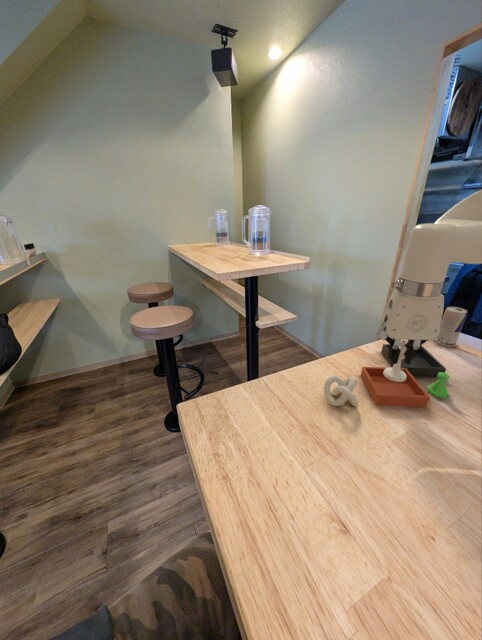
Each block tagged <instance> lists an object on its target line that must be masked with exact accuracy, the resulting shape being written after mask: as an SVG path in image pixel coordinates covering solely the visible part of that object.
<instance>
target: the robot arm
mask: <svg viewBox="0 0 482 640" xmlns="http://www.w3.org/2000/svg"><path fill="white" fill-rule="evenodd" d="M452 263H458V264H459V263H460V264H469V265H471V264H472V265H481V264H482V189H480V190H478V191H476V192H474V193H472V194H470V195H469V196H467V197H465V198H464V199H462V200H461V201H459V202H458V203H456V204H455V205H453V206H452V207H451V208H450V209H448V210H447V211H446V212H445V213H444V214H442V215H441V216H440V217H439V218H438V219H437V220H436V221H434V222H428V223H420V224H417V225H415V226H414V227H413V228H412V230H411V231H410V233H409V238H408V242H407V246H406V251H405V255H404V259H403V264H402V267H401V270H400V271H401V272H400V275H399V277H398V280H396V281H392V282H391V288H392V289H395V290H393V291H392V294H391V295H390V298H389V299H388V303H387V304H386V308H385V310H384V313H383V317H382V320H381V324H380V325H381V326H380V328H379V329H378V330H377V332H376V333H375V336H376V337H377V338H378V339H380V340H382V341H385V342H387V344H390V347H389V351H388V358H389V359H390V360H391V361H392V363H393V364H396V363H397V362H398V358H399V355H400V349H399V345H400V343H402V341H403V340H406V342H407V344H405V345H404V346H405V347H406V348H407V350H406V352H405V353H404V354H403V355H404V356H405V359H402V360H403V361H404V362H405V363H406V364H410V362H411V359H413V356H414V352H415V350H417V349H419V346H420V345H422V346H423V345H424V344H426V343H427V342H430V341H433V340H434V341H435V340H436V338H437V334H438V331H439V328H440V325H441V322H442V319H443V316H444V307H445V305H444V304H445V296H444V295H443V294H441V293H442V289H443V287H444V284H445V280H446V276H447V273H448V271H449V267H450V264H452Z"/></svg>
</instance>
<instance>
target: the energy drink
mask: <svg viewBox="0 0 482 640" xmlns="http://www.w3.org/2000/svg"><path fill="white" fill-rule="evenodd" d="M467 316H468V310H467V309H465V308H463V307H460V306H459V307H458V306H448V307H446V308H445V310H444V312H443V315H442V320H441V324H440V328H439V331H438V334H437V338H436V339H435V342H436V343H437V345H440V346H442V347H446V348H452V347H455V346H456V345H457V342H458V341H459V337H460V334H461V331H462V330H463V326H464V324H465V321H466V319H467Z"/></svg>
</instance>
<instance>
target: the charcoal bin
mask: <svg viewBox="0 0 482 640" xmlns="http://www.w3.org/2000/svg"><path fill="white" fill-rule="evenodd" d="M399 346H400V345H399ZM389 347H390V344H389V343H387V344H386V343H383V344H382V346H381V351H380V353H381V354H382V356H383V357H384V359H386V361H387V363H388V364H389V365H390V367H393V366H394V364H393V363H392V361H391V360H390V359H389V358H388V351H389ZM401 368H407V370H408V371H409V372H410V373H411V375H412V376H413V377H414V378H434V379H436V378H437V379H439V378H438V377H437V375H438V372H445V373H446V370H447V368H446V367H445V366H444V365H443V364H442V363H441V362H440V361H439V360H438V359H437V358H436V357H434V355H432V353H430V352H429V351H428V349H426V348H425V347H424V346H423V344H422V345H420V346H419V349H417V350H415V352H414V356H413V359H411V362H410V364H406V363H405V362H404V361H403V360H402V359H401Z"/></svg>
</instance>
